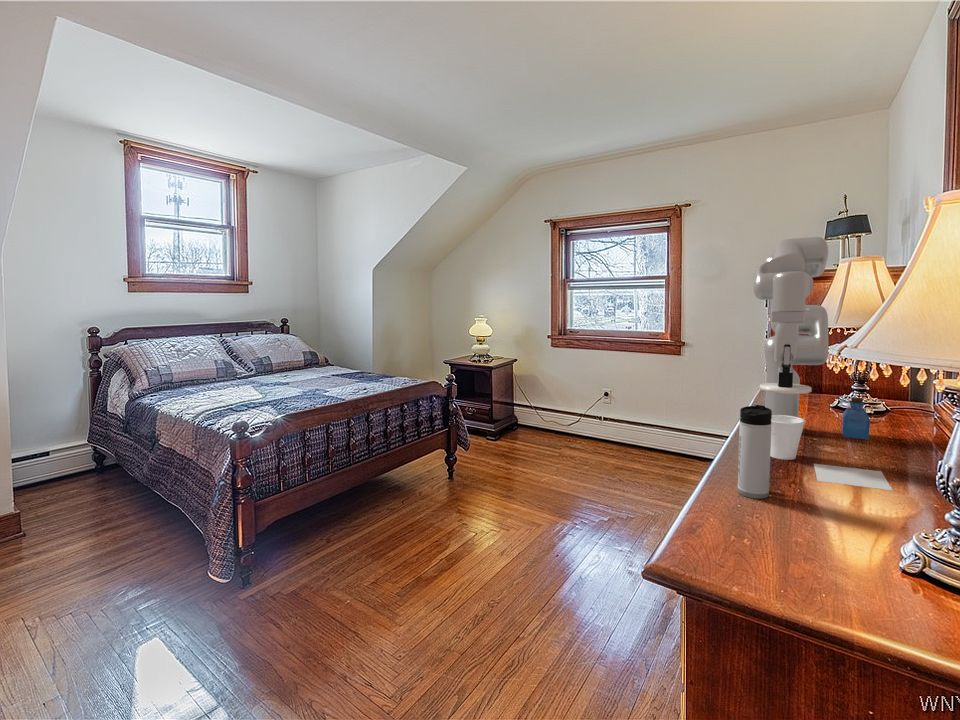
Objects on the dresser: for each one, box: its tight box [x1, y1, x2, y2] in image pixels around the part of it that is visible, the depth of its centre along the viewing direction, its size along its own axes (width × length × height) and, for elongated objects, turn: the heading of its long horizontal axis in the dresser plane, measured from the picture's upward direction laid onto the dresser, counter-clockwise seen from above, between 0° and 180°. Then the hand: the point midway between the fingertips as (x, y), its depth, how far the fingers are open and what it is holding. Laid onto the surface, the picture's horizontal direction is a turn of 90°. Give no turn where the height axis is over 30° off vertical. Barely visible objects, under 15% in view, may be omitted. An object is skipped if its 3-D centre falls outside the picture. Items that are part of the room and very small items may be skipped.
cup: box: [770, 415, 806, 461], centre depth 137 cm, size 10×10×11 cm
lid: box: [759, 367, 812, 395], centre depth 135 cm, size 12×12×6 cm
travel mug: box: [737, 404, 772, 500], centre depth 112 cm, size 6×7×20 cm
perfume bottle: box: [841, 397, 871, 440], centre depth 156 cm, size 6×6×12 cm
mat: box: [813, 463, 894, 491], centre depth 121 cm, size 14×14×1 cm
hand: (785, 385), depth 135 cm, fingers closed on lid, 3 cm apart
